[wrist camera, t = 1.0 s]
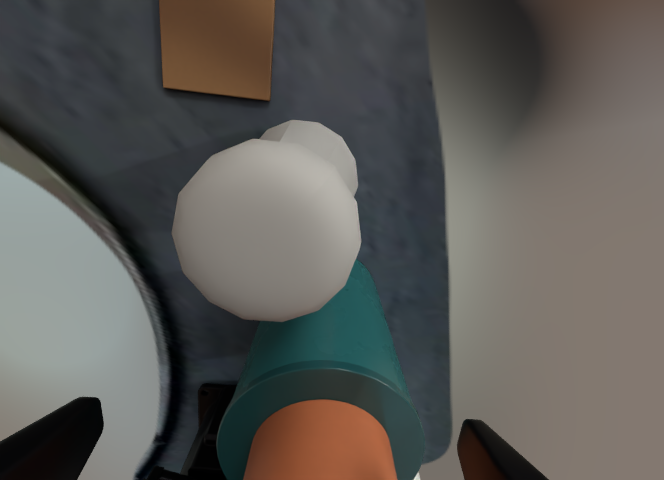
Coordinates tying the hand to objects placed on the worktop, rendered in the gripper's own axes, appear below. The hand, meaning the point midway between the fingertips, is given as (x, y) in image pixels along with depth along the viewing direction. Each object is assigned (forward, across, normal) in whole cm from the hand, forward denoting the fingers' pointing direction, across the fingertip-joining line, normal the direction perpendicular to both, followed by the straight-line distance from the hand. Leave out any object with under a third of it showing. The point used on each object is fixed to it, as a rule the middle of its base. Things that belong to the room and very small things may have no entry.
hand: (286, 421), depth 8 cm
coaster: (+13, +6, -11) cm, 18 cm away
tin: (+13, -1, +3) cm, 14 cm away
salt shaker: (+13, +1, -5) cm, 14 cm away
